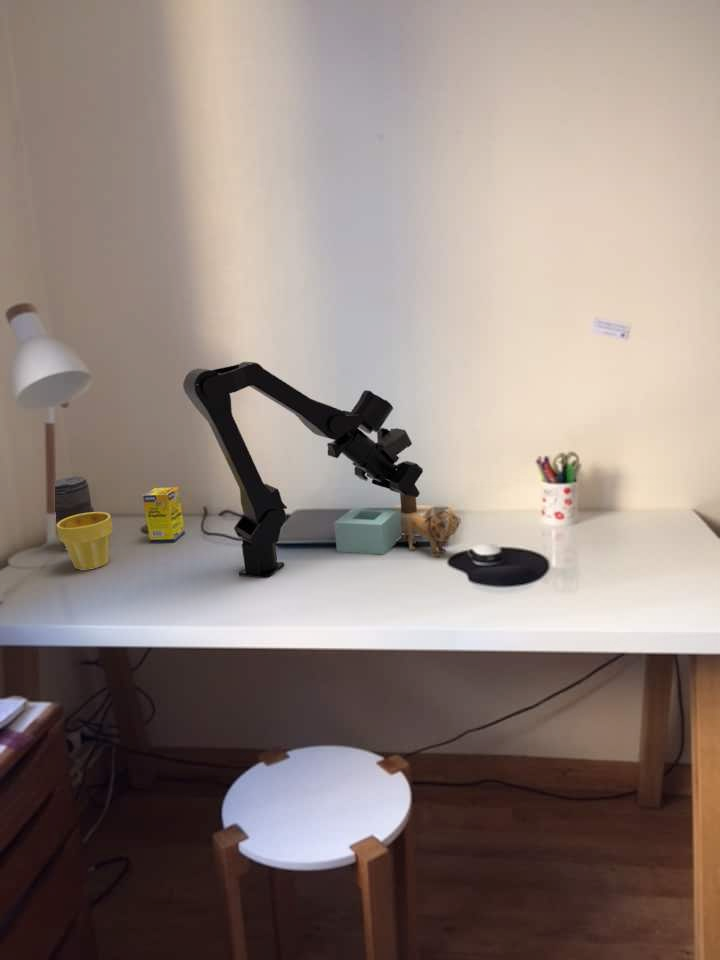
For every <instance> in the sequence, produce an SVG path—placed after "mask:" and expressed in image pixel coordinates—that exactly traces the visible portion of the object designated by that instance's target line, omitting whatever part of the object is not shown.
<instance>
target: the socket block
mask: <svg viewBox="0 0 720 960" xmlns="http://www.w3.org/2000/svg"><path fill="white" fill-rule="evenodd" d="M333 526H334V527H333V528H334V535H335V545H336V546H335V547H336V552H339V553H354V554H355V553H356V554H371V555H383V556H384V555H385V554H386V553H387V552H388V551H389V550H390V549H392V548H393V547H394V546H395V545H396V544H397V543H396V540H397V539H398V538H399V537H400V536H401V535H402V528H401V515H400V509H393V508H386V507H363V506H362V507H360V506H359V507H358V506H357V507H356V506H354V507H353V508H352V509H350V510H349V511H348V512H346V513H345V514H343V515H342V516H340V517H339V518H338V519H337V520H335V521H333ZM402 536H403V535H402Z"/></svg>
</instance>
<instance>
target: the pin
mask: <svg viewBox="0 0 720 960" xmlns="http://www.w3.org/2000/svg"><path fill="white" fill-rule="evenodd" d="M399 497H400V505H401V511H402V512H404V513H412V512H415V511H417V506H416V505H417V497H414V496H410V495H403V494H401V493H399Z"/></svg>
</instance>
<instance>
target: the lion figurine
mask: <svg viewBox="0 0 720 960" xmlns="http://www.w3.org/2000/svg"><path fill="white" fill-rule="evenodd" d="M461 520H462V519H461V517H458V516H457V515H456V513H455V512H454V510H453V509H451V508H446V509H442V510H440V511H439V512H436V513H434V515H431V516H430V517H429V518H428V519H424V518H423V517H421V516H420V515H418V514H411V515H410V516H409V517H408V519H407V527H406V532H405V535H402V538H401V539H399V540H398V542H399V543H402V542H403V541H405V540H406V538H407V537H408V541H407V542H408V550H409V551H415V550H416V546H414V545H413V544H416V541H417V540H416V539H415V537H416V536H415V535H416V534H419V535H420V536H419V537H422V538H424V539H428V541H429V544H430V551H431V557H432V558H436V559H437V558H439V556H440V555H439V553H442V554H444V553H446V552H447V550H446V549H445V548H443V545H444V542H446V541H448V540H449V539H450V536H454V535H455V534H456V532H457V529H459V526H460V524H461V522H462V521H461ZM407 534H409V536H407ZM417 542H418V541H417ZM438 552H439V553H438Z"/></svg>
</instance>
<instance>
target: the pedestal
mask: <svg viewBox="0 0 720 960" xmlns="http://www.w3.org/2000/svg"><path fill="white" fill-rule="evenodd" d="M416 506H417V511H415V512H412V513H404V512H402V511H401V504H397V505H395V506H394V507H392V509H400V515H401V528H402V533H405V532H406V527H407V519H408V517H409V516H410V515H411V514H418V515H420V516H421V517H423V518H424V519H428V518H429V517H430V516H431V515H434V514H435V507H434V505H422V504H421V505H417V504H416Z"/></svg>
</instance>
